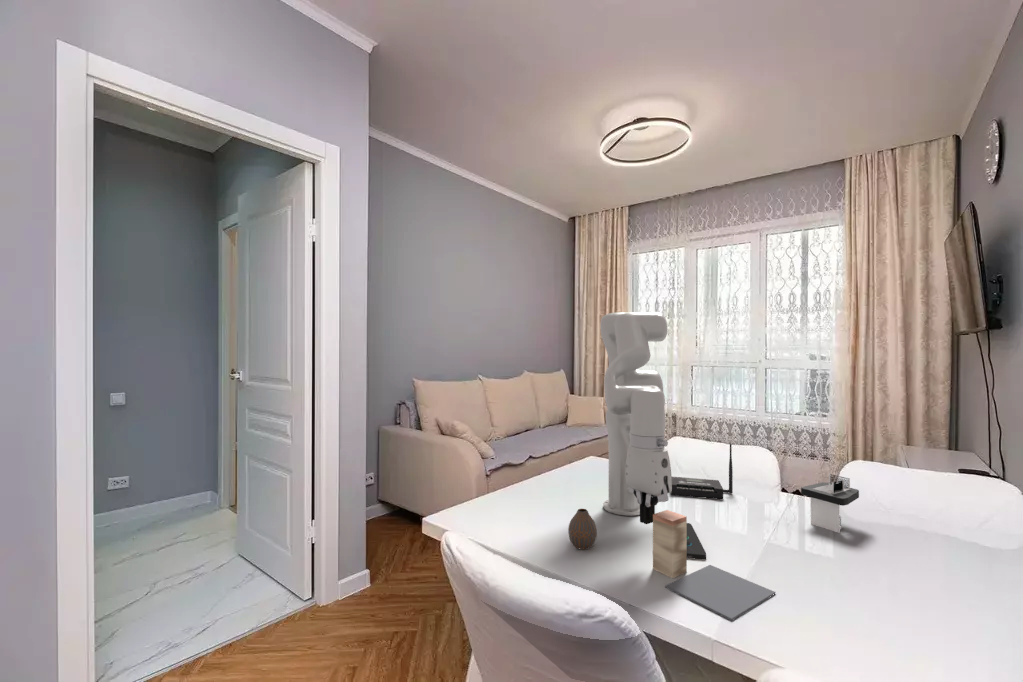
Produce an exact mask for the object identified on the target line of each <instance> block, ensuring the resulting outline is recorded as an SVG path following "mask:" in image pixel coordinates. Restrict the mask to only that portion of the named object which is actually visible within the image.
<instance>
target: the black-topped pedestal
mask: <svg viewBox="0 0 1023 682" xmlns="http://www.w3.org/2000/svg"><path fill="white" fill-rule="evenodd" d="M800 495H802V496H804V497H805V496H806V497H809V498H810V524H811V525H813V526H816V527H819V528H823V529H824V530H825V529H826V530H829V531H832V532H835V533H838V534H840V533H841V532H840V531H841V529H842V516H841V515H840V506H842V507H843V506H847V505H849V504H851V503H852V502H854V501H856V500H858V499H859V498H860V490H859V489H856V488H853V487H851V478H850V477H844V476H840V475H835V474H832V473H828V482H819V483H814V484H809V485H806V486H801V488H800Z"/></svg>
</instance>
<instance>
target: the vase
mask: <svg viewBox="0 0 1023 682" xmlns="http://www.w3.org/2000/svg"><path fill="white" fill-rule="evenodd" d="M567 529H568V531H567V533H568V538H569V541H570V543H571V544H572V545H573V546H574V547H575V548H576V549H578V548H580V549H579V550H588V548H589V549H591V548H592V546H593V545H594V544H595V542H596V540H597V537H598V536H597V533H598V532H597V531H598V529H597V525H596V522H595V521H594V519H593V517H592V516H591V515H590V513H589V510H587V508H579V509H577V510H576V513H575V514H574V515H573V516H572V518H571V520H570V521H569V523H568V528H567Z"/></svg>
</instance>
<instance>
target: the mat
mask: <svg viewBox="0 0 1023 682" xmlns="http://www.w3.org/2000/svg"><path fill="white" fill-rule="evenodd" d="M664 588H666V589H668V590H669V591H671V592H674V593H675V594H677V595H679V596H681V597H683V598H685V599H687V600H690V601H691V602H693V603H696V604H697V605H699V606H701V607H703V608H705V609H707V610H710V611H711V612H713V613H715V614H717V615H719V616H720V617H723V618H725V619H727V620H729V621H731V622H733V621H734V620H735V619H737V618H739V617H740V616H743V614H746V613H747V612H748V611H750V610H752V609H754V608H755V607H757V606H758V605H760V604H761V603H763V602H765V601H766V599H767V600H768V599H770V598H771V597H770V596H772V595H773V594H775V593H776V591H775V590H772V589H769V588H766V587H764V586H762V585H759V584H757V583H755V582H753V581H750V580H748V579H745V578H743V577H740V576H738V575H735V574H733V573H731V572H728V571H726V570H723V569H721V568H719V567H717V566H714V565H711V564H709V565H706V566H704V567H701V568H700V569H698V570H696V571H694V572H691V573H689V574H687V575H685V576H683V577H680V578H679V579H676V580H675V581H674V580H673V581H671V582H670V583H667V584H665V586H664ZM775 595H776V594H775ZM773 596H774V595H773ZM773 596H772V597H773ZM769 597H770V598H769Z"/></svg>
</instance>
